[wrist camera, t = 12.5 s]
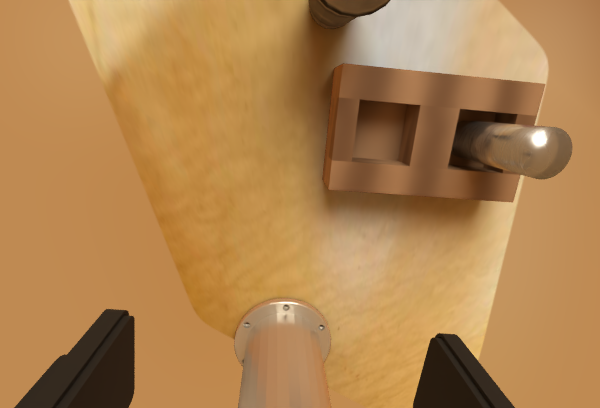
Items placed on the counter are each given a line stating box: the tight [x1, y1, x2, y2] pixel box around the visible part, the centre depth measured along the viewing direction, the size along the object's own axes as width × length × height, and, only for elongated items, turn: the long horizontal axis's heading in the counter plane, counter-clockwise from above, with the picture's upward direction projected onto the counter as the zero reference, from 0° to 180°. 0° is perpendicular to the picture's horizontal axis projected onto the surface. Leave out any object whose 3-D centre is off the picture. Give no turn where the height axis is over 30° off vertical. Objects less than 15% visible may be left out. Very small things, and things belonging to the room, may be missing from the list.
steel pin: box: [451, 120, 572, 179], centre depth 32 cm, size 4×4×12 cm
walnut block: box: [322, 64, 545, 202], centre depth 36 cm, size 20×12×5 cm, turn 85°
